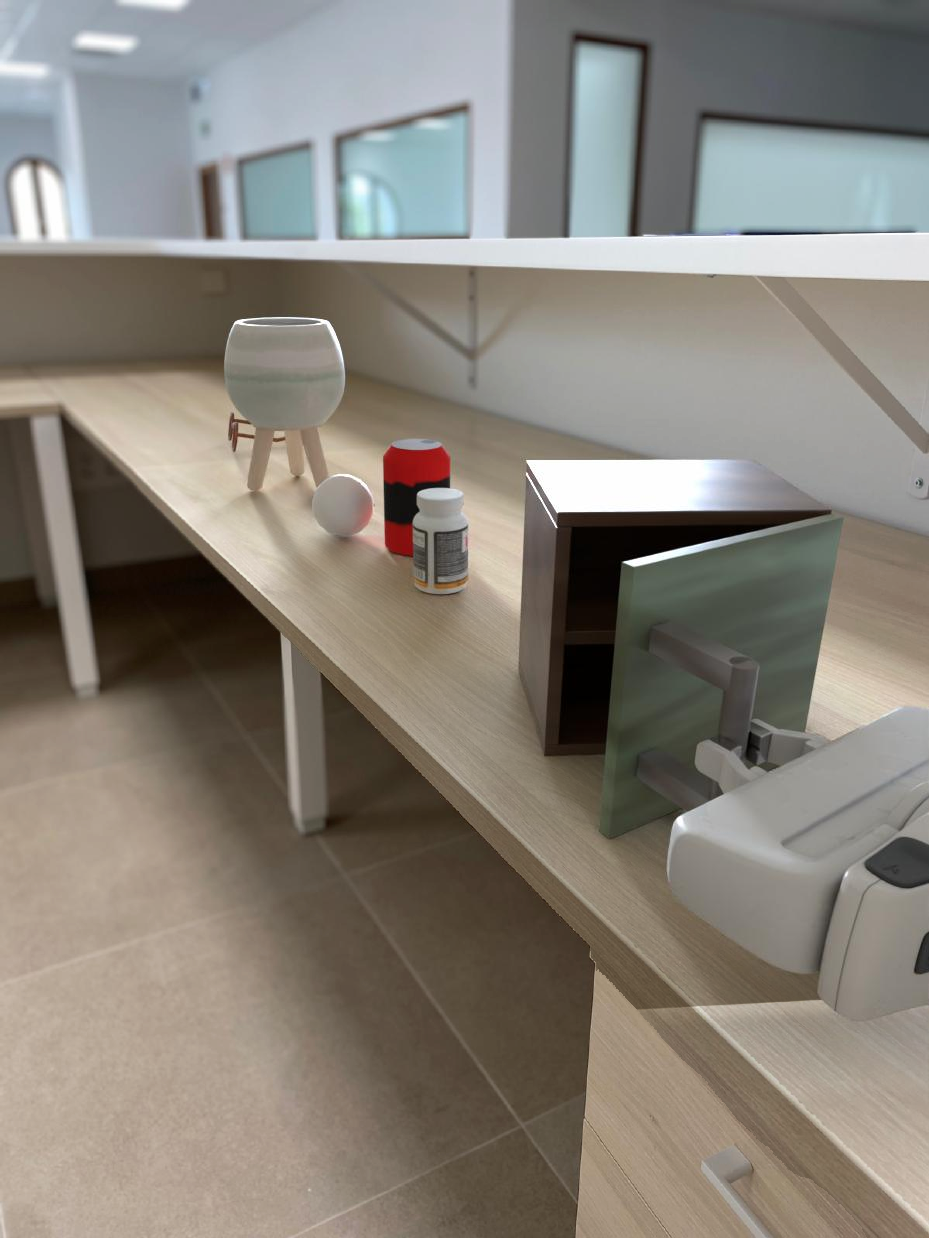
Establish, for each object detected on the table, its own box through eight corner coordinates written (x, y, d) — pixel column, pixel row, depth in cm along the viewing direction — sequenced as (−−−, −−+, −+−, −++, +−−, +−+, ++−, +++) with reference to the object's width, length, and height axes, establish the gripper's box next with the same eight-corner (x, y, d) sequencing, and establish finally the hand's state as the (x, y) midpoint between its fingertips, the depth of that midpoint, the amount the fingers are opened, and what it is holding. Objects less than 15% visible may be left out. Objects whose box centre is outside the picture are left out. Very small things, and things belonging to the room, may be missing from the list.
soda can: (463, 545, 109) (464, 444, 104) (419, 561, 103) (418, 455, 99) (415, 532, 113) (415, 434, 108) (371, 547, 108) (368, 444, 103)
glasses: (227, 439, 160) (225, 410, 158) (303, 435, 163) (301, 407, 162) (233, 456, 148) (230, 425, 146) (315, 452, 152) (313, 421, 150)
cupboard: (790, 750, 67) (832, 509, 60) (543, 757, 66) (557, 512, 59) (725, 665, 80) (753, 459, 73) (518, 670, 78) (526, 460, 71)
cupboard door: (886, 803, 61) (945, 546, 54) (691, 902, 52) (731, 608, 45) (789, 750, 67) (830, 513, 60) (598, 831, 57) (621, 561, 51)
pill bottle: (472, 578, 99) (473, 487, 95) (462, 598, 93) (463, 502, 89) (419, 575, 99) (419, 484, 96) (407, 594, 94) (406, 499, 90)
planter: (299, 466, 143) (291, 314, 134) (372, 484, 133) (367, 322, 125) (211, 485, 132) (195, 321, 123) (283, 507, 122) (271, 330, 113)
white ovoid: (383, 540, 110) (381, 480, 107) (321, 547, 107) (318, 485, 105) (360, 517, 119) (358, 460, 116) (302, 523, 116) (299, 465, 113)
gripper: (1101, 746, 45) (845, 643, 55) (855, 914, 33) (591, 746, 44) (1065, 853, 47) (826, 736, 57) (824, 1042, 36) (581, 855, 46)
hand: (722, 741), depth 50 cm, fingers closed on cupboard door, 2 cm apart
